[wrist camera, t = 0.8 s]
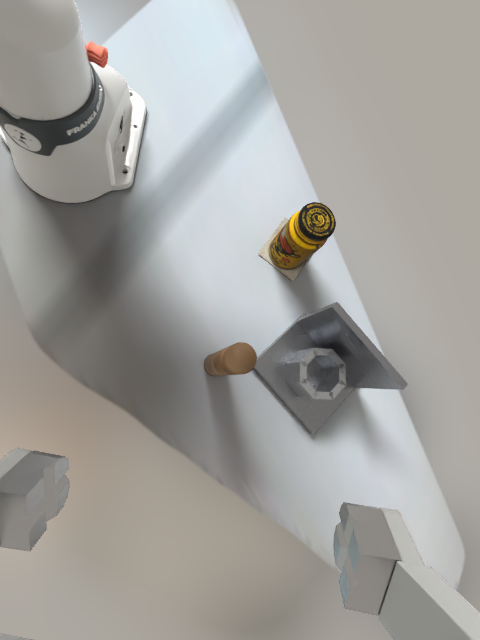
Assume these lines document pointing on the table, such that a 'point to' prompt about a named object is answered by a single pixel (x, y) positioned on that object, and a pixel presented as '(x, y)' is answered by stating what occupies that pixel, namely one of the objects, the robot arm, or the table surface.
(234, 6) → the table surface
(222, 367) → the wooden cylinder rod
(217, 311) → the table surface
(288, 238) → the condiment
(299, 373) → the cup bracket
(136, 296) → the table surface
